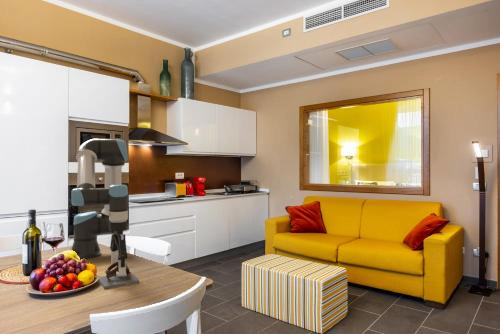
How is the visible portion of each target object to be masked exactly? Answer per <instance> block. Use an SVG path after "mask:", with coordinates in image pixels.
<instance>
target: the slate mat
mask: <svg viewBox="0 0 500 334" xmlns="http://www.w3.org/2000/svg"><path fill="white" fill-rule="evenodd" d="M130 273H131V279H130V280H129V278H128V276H127V274H124V275H119V273H116V276H117V277H115V276H113V277H110V278H109V279H107V278H106V275H103V276H97V279H98V278H99V281H98V282H99V284H100V285H101V286H102V288H103V289H104V290H107V289H113V288H118V287H123V286H128V285H134V284H139V283H140V282H141V281H140V279H139V278H138V277H137V276H136V275H135V274H134V273H133V272H132V271H130Z"/></svg>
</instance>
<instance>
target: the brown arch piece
mask: <svg viewBox="0 0 500 334" xmlns="http://www.w3.org/2000/svg"><path fill="white" fill-rule="evenodd" d="M127 264H128V263H126V274H127V276H128V278H129V280H130V279H131V273H132V272H131V271H130V269H129V267H128V265H127ZM117 272H118V273H119V260H118V262H115V263H113V264H112V265H111V264H110V265H109V266H108V267H107V269H106V270H105V272H104V273H105V274H106V275H105V276H106V278H107V279H109V278H110V277H113V276H115V277H117V276H116V274H117ZM130 272H131V273H130Z"/></svg>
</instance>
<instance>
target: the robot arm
mask: <svg viewBox="0 0 500 334" xmlns="http://www.w3.org/2000/svg"><path fill="white" fill-rule="evenodd" d="M128 157H129V156H128V148H127V143H126V141H125V140H123V139H119V138H118V139H117V138H116V139H115V138H92V139H89V140H87V141H85V142H83V143H82V144H81V145H80V146H79V147H78V149H77V151H76V154H75V159H76V161H77V177H76V180H77V181H76V188H72V189H71V191H70V192H71V195H70V197H71V198H70V200H71V205H72V206H74V207H77V206H78V207H83V206H84V207H85V206H86V207H87V206H90V207H91V206H104V208H103V209H102V210H101V211H100V212H101V213H98V212H97V211H87V212H83V213H82V212H81V213H78V214H76V215H75V216H74V217H73V223H72V224H73V243H72V245H71V249H70V251H71V250H73V251H75V252H76V253H77V255H78V256H79V257H80V258H81V259H90V258H94V257H98V256H99V255H101V248H100V245H99V242H98V236H103V235H104V236H105V235H108V236H109V235H111V237H110V246H109V249H110V254H111V255H110V257H111V258H110V260H111V263H110V266H111V265H112V264H113V263H115V262H118V261H119V272H118V274H119V275H124V274H126V264H127V259H128V249H127V242H126V234H125V233H124V231H127V230H128V228H129V224H128V221H127V220H128V219H129V215H128V214H129V212H128V211H129V210H128V201H129V200H128V198H129V197H128V195H129V191H128V185H127V184H122V179H123V178H122V174H123V173H122V172H123V171H122V170H123V169H122V168H123V167H124V166H125V164H126V162H127V161H128V162H129V160H128V159H129V158H128ZM97 161H98V162H100V161H101V165H102V166H103V167H104V187H100V188H99V187H97V188H96V162H97Z"/></svg>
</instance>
